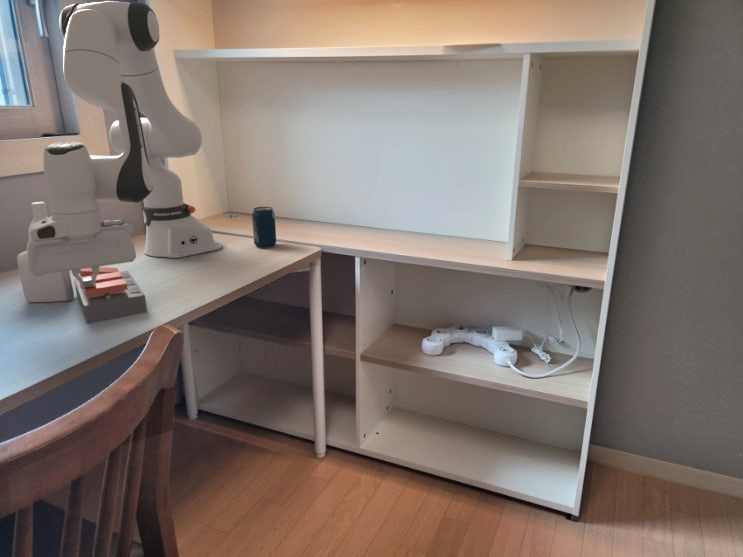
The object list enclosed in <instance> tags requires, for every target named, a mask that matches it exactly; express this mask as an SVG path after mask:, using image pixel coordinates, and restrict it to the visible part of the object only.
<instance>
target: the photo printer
mask: <svg viewBox="0 0 743 557" xmlns="http://www.w3.org/2000/svg"><path fill="white" fill-rule="evenodd" d="M16 261H17V262H16V263H17V268H18V272H19V277H20V281H21V286H22V289H23V293H24V294H23V295H24V299H25V302H26V303H46V302H47V303H48V302H49V303H51V302H54V303H55V302H68V301H71V300H73V299H74V298H75V293H74V289H73V282H72V278H71V274H70V272H71V271H70V270H69V271H62V272H55V273H48V274H41V275H33V274H31V273H30V272H29V269H28V263H27V250H25V251H22V252H21V253H19V254H17V257H16Z"/></svg>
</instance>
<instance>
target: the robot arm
mask: <svg viewBox="0 0 743 557" xmlns="http://www.w3.org/2000/svg"><path fill="white" fill-rule="evenodd" d="M58 24H59V25H58V26H59V31H60V33H61V36H62V38H63V40H64V41H63V42H64V43H63V57H62V60H63V61H62V71H63V77H64V81H65V83H66V85H67V87H68V88H69V89H70V91H71V92H73V94H74V95H75V96H77V97H78V98H80V99H82V100H83V101H84V102H87V103H89V104H91V105H93V106H96V107H99V108H101V109H104V110H106V111H109V112H111V113H114V114H115V115H116V117H117V120H115V121H114V122H113V123H112V124H111V126H110V128H109V131H108V140H109V142H110V145H111V147H112V149H113V150H114V151H115V152H116V153H117V154H119V155H91V154H89V152H88V149H87V147H86V145H85V144H84V143H82V142H79V141H61V142H55V143H52V144H50V145H48V146H46V147H45V148H44V149H43V158H42V159H43V160H42V162H43V176H44V183H45V188H46V189H45V190H46V192H47V194H48V196H49V198H50V209H49V210H50V215H51V216H49V217H48V218H46V219H43V220H41V221H38V222H35V223H33V224H31V223H30V224H31V225H30V224H29V226H28V228H27V230H28V231H27V232H29V235H30V237H31V238H30V239H28V240H27V244H26V251H27V263H28V269H29V272H30V273H31V274H33V275H41V274H48V273H55V272H62V271H69V272H70V271H71V273H72V276H73V277H74V279H77V280H78V281H79V282H80V287H81V289H85V288H92V287H96V283H95V279H96V277H97V275H98V273H99V267H105V266H111V265H112V266H113V265H118V264H125V263H126V264H127V263H133V262H134V261H135V259H136V257H137V254H136V249H135V246H134V241H133V239H132V238H133V237H134V234H135V233H134V226H133V224H132V223H131V222H129V221H128V220H125V219H117V220H103V221H102V218H101V211H100V206H99V203H98V202H123V203H125V202H126V203H133V204H134V203H137V204H138V203H141V202H142V201H143V205H142V216H143V222H144V225H145V235H146V236H145V246H144V251H143V253H144V254H145V255H146V256H151V257H159V258H171V259H180V258H184V257H188V256H193V255H198V254H202V253H203V254H204V253H207V252H212V251H216V250H217V251H218V250H221V249H222V246H223V245H222V241H220V240H218V239H217V238H215V237H214V234H213V232H212V230H211V227H209V225H208V224H206V223H205V222H203V221H201V220H200V219H199V218H197V217H196V216H193V215H192V214H194V213H195V212H196V210H197V209H196V207H195V206H193V205H189V204H187V203H185V202H184V196H183V187H182V180H181V178H180V177H179V175H178V174H177V173H176V172H174V171H172V170H171V169H168V168H167V167H166V166H165V165H164V164H163V163H162V162H163V161H161V158H168V159H171V158H175V159H176V158H178V159H179V158H184V157H190V156H194V155H196V154H198V152H199V150H200V149H201V146H202V143H203V137H202V132H201V130H200V128H199V126H198V125H197V124H196V123H195V122H194V121H193V120H192V119H189V118H188V117H187V116H185V115H183V113H182V112H180V110H178V108H177V107H176V106H175V105H174V104H173V103H172V101H171V99H170V97H169V96H168V94H167V91H166V89H165V85H164V82H163V81H164V80H163V78H162V75H161V71H160V67H159V63H158V59H157V56H156V54H155V50H154V48H155V47H156V45H158V43H159V41H160V25H159V21H158V18H157V15H156V13H155V12H154V10H153V9H152V8H151V7H150V6H149V5H148V4H146V3H143V2H139V1H131V2H127V1H117V0H116V1H115V0H114V1H113V0H105V1H99V2H97V1H95V2H90V3H87V2H86V3H83V4H81V3H77V2H76V3H72V4H70V5H69V4H68V5H67V6H65V7H64V8H63V9H62V10H61V12H60V14H59V18H58ZM140 113H141V114H142V115H143V116H144V117H141V115H140ZM84 268H91V270H92V272H93V273H92V275H91V278H86V279H82V278H81V276H80V269H84Z"/></svg>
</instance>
